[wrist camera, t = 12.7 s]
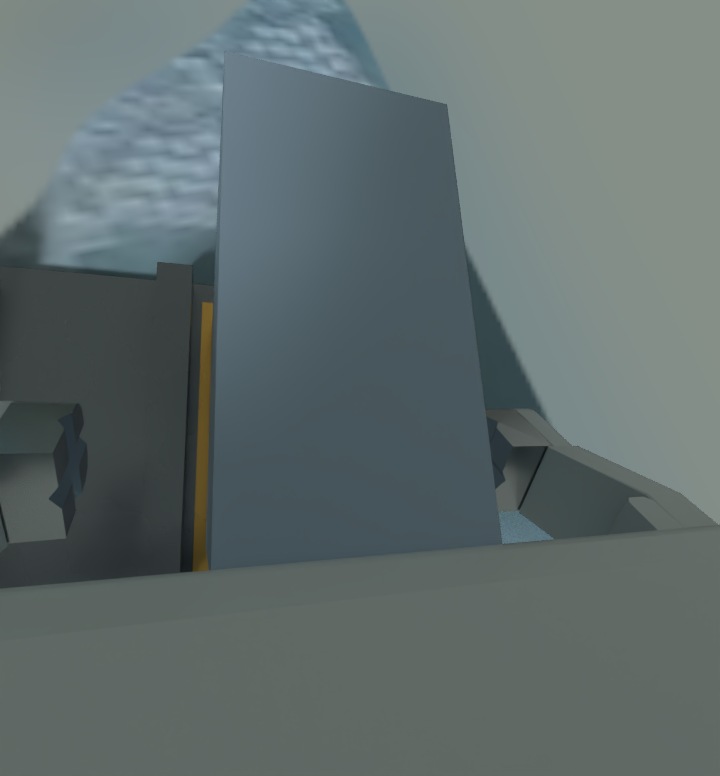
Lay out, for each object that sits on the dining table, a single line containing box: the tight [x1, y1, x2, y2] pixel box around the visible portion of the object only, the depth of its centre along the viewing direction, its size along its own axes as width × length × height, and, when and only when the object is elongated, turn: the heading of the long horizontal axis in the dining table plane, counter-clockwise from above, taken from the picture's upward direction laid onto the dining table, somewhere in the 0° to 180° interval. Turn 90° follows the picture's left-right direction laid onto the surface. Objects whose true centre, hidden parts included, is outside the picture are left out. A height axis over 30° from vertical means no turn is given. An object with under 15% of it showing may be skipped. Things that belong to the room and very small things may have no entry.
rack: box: [0, 262, 214, 589], centre depth 12 cm, size 10×19×4 cm, turn 93°
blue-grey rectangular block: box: [206, 51, 502, 570], centre depth 11 cm, size 7×4×10 cm, turn 3°
